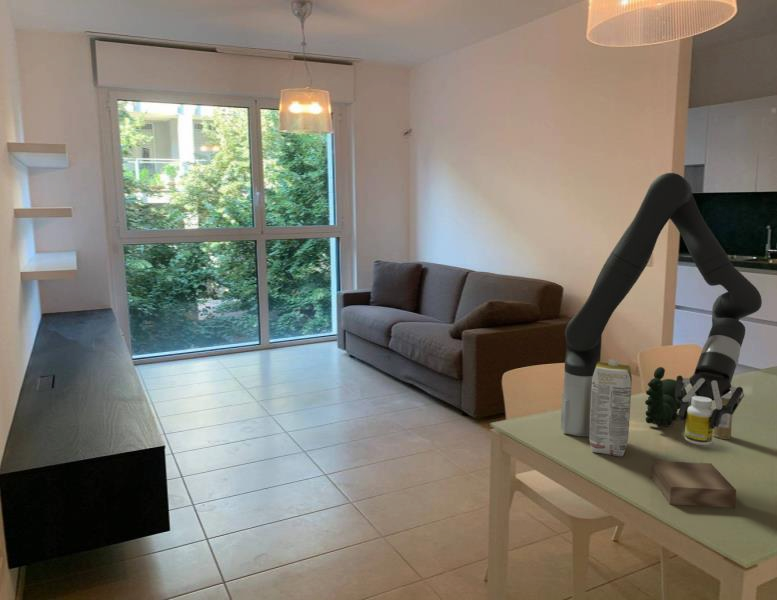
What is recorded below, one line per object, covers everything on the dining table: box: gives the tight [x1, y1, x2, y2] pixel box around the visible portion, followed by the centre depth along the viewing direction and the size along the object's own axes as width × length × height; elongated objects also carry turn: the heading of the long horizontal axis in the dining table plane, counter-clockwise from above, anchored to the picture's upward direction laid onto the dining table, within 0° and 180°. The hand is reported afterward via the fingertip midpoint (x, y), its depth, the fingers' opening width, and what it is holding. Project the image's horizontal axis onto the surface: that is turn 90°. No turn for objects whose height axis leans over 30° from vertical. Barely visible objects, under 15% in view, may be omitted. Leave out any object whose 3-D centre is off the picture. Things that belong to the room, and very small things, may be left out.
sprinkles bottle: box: [712, 391, 734, 440], centre depth 162 cm, size 5×5×13 cm
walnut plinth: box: [650, 460, 737, 509], centre depth 132 cm, size 13×13×4 cm
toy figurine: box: [644, 366, 688, 427], centre depth 174 cm, size 9×19×25 cm
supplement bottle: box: [684, 396, 714, 446], centre depth 131 cm, size 5×5×10 cm
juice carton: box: [589, 358, 633, 457], centre depth 152 cm, size 9×8×24 cm
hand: (697, 422), depth 130 cm, fingers closed on supplement bottle, 5 cm apart
